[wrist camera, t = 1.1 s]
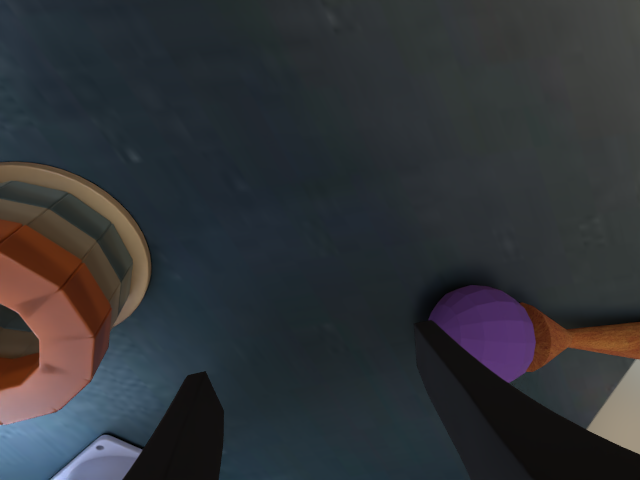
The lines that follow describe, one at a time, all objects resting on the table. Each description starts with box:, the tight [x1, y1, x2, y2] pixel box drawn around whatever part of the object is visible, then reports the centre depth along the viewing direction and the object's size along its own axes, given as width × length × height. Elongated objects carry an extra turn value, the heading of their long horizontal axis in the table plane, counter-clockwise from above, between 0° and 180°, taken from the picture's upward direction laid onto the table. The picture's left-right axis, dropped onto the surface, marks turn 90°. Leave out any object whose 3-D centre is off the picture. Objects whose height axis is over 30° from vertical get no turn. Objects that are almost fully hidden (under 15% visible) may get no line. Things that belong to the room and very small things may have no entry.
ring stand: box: [0, 162, 151, 359], centre depth 18 cm, size 10×10×5 cm
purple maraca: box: [428, 285, 640, 383], centre depth 25 cm, size 6×6×20 cm
